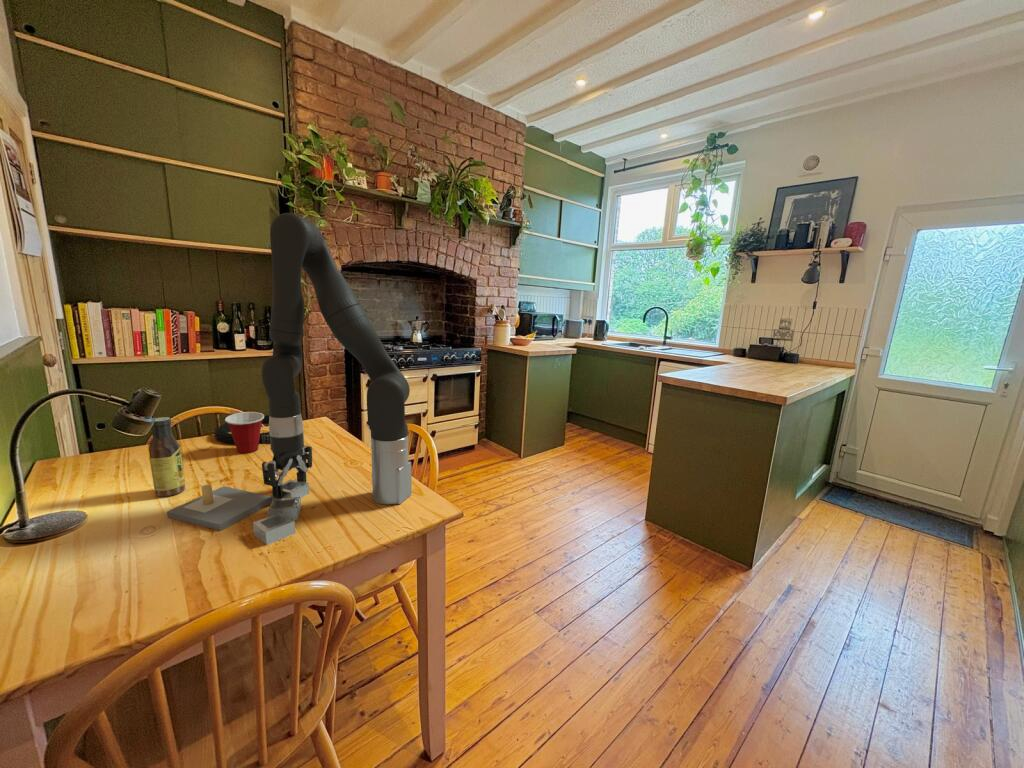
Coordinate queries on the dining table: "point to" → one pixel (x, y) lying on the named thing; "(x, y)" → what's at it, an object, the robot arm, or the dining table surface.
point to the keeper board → (219, 507)
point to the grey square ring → (294, 489)
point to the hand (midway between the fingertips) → (290, 491)
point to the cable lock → (226, 437)
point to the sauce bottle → (166, 459)
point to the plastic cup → (245, 430)
